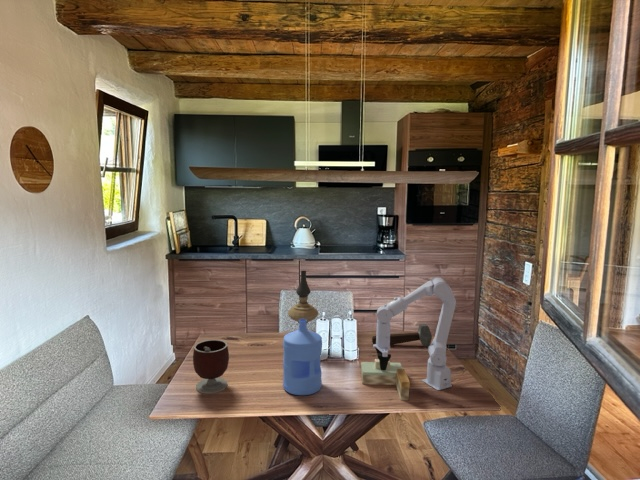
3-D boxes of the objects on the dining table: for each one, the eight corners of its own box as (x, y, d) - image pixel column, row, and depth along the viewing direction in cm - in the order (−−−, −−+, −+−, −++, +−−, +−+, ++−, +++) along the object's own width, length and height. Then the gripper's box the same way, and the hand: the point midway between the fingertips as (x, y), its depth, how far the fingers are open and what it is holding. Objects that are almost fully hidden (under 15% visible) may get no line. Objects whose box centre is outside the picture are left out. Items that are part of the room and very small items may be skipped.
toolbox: (399, 374, 177) (400, 362, 177) (409, 400, 155) (410, 387, 155) (360, 373, 178) (361, 361, 177) (365, 399, 156) (365, 386, 155)
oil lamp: (283, 347, 205) (283, 269, 200) (310, 342, 211) (311, 267, 206) (294, 358, 191) (294, 275, 186) (322, 353, 198) (324, 273, 192)
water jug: (275, 384, 166) (275, 318, 163) (306, 374, 176) (307, 311, 172) (297, 400, 154) (297, 329, 150) (329, 388, 164) (330, 321, 160)
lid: (400, 367, 177) (400, 356, 176) (404, 377, 167) (404, 366, 166) (360, 366, 177) (361, 355, 177) (362, 376, 167) (363, 365, 167)
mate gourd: (199, 377, 171) (198, 332, 169) (232, 378, 171) (231, 332, 169) (187, 396, 156) (186, 346, 153) (223, 397, 156) (222, 347, 153)
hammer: (374, 354, 207) (432, 346, 207) (372, 333, 206) (430, 325, 206) (372, 350, 212) (429, 343, 212) (370, 329, 210) (428, 322, 211)
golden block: (404, 374, 165) (404, 369, 165) (409, 388, 154) (409, 382, 154) (396, 374, 165) (396, 368, 165) (401, 388, 154) (401, 381, 154)
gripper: (371, 329, 177) (370, 358, 179) (375, 341, 163) (374, 373, 165) (388, 329, 177) (386, 359, 179) (393, 342, 163) (392, 374, 164)
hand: (382, 366), depth 172 cm, fingers open, 6 cm apart
